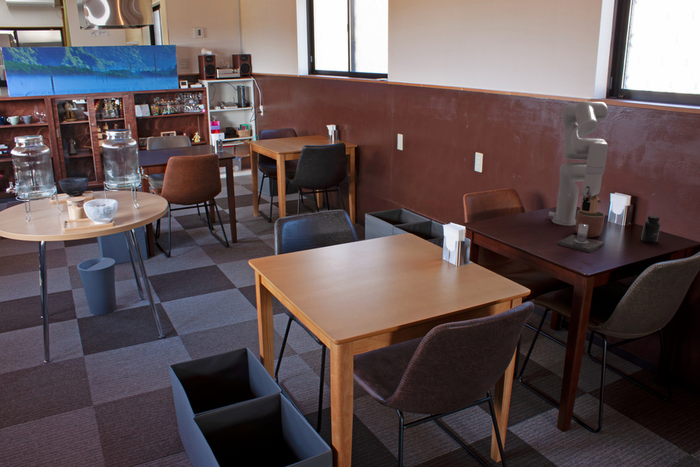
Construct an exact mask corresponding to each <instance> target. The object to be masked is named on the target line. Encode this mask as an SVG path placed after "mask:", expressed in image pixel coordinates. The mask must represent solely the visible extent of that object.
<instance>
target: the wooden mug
mask: <svg viewBox="0 0 700 467" xmlns="http://www.w3.org/2000/svg"><path fill="white" fill-rule="evenodd" d="M588 199H589V197H588ZM599 203H602V199H600V197H598V198H597V197H593V196H592V197H591V200H590V210H589V211H583V210H582V204H583V196H581V201H580V208H579V210H580V211H582V212H586V213H596V212H597V211H598V209H599V205H600V204H599ZM598 212H599V211H598Z"/></svg>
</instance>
